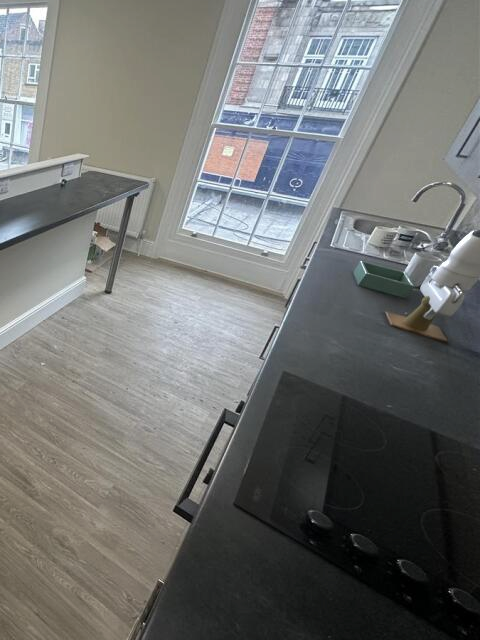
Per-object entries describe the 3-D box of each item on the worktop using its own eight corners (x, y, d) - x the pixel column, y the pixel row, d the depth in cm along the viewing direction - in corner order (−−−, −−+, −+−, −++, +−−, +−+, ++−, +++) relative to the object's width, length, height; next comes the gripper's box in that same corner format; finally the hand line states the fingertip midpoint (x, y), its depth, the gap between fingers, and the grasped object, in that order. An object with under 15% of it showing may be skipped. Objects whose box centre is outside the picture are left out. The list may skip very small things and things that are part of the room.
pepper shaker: (403, 324, 136) (424, 297, 131) (403, 317, 140) (424, 291, 134) (427, 332, 133) (450, 305, 127) (427, 325, 136) (449, 298, 131)
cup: (404, 285, 164) (424, 259, 158) (391, 276, 171) (410, 251, 165) (426, 288, 163) (447, 263, 157) (413, 279, 170) (432, 254, 163)
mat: (437, 328, 137) (438, 326, 137) (446, 342, 130) (447, 340, 130) (384, 312, 143) (386, 311, 143) (390, 325, 136) (391, 324, 136)
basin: (397, 283, 165) (405, 272, 162) (405, 298, 154) (414, 286, 151) (353, 272, 171) (360, 260, 169) (358, 285, 161) (366, 273, 158)
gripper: (479, 295, 118) (446, 332, 125) (456, 270, 133) (428, 305, 140) (450, 288, 121) (419, 324, 128) (431, 264, 135) (404, 298, 143)
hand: (424, 314), depth 134 cm, fingers closed on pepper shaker, 4 cm apart
